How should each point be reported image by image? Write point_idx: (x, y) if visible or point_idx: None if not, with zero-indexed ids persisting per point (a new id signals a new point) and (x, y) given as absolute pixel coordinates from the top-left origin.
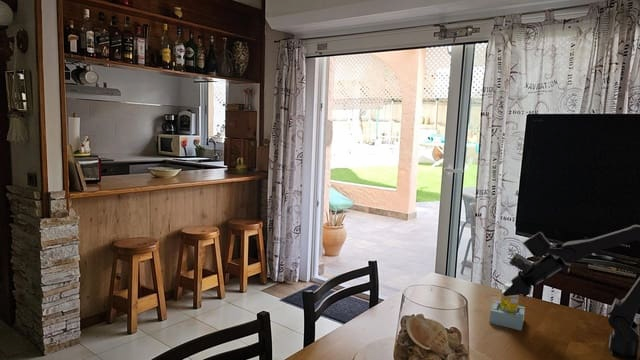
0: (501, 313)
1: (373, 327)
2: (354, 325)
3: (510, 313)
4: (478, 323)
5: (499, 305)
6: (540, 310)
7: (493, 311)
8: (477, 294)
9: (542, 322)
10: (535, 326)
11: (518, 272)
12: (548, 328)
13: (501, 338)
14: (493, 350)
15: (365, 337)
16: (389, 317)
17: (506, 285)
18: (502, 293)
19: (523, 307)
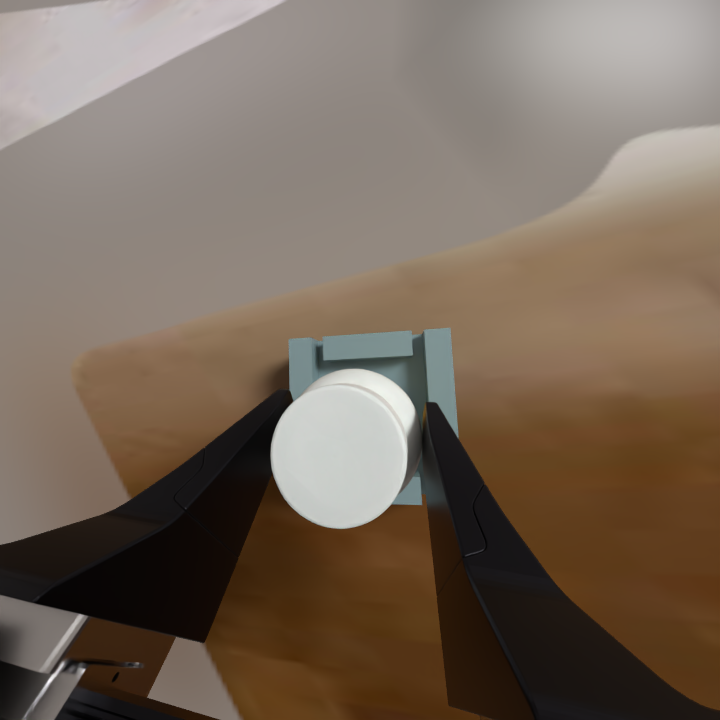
0: (291, 392)
1: (72, 63)
2: (58, 20)
3: None
4: (281, 312)
5: (425, 362)
6: (654, 556)
7: (290, 353)
8: (649, 215)
9: None
10: (399, 531)
11: (532, 717)
12: (415, 590)
13: (203, 412)
14: (107, 402)
15: (13, 82)
16: (155, 57)
17: (291, 412)
18: (316, 380)
19: None
